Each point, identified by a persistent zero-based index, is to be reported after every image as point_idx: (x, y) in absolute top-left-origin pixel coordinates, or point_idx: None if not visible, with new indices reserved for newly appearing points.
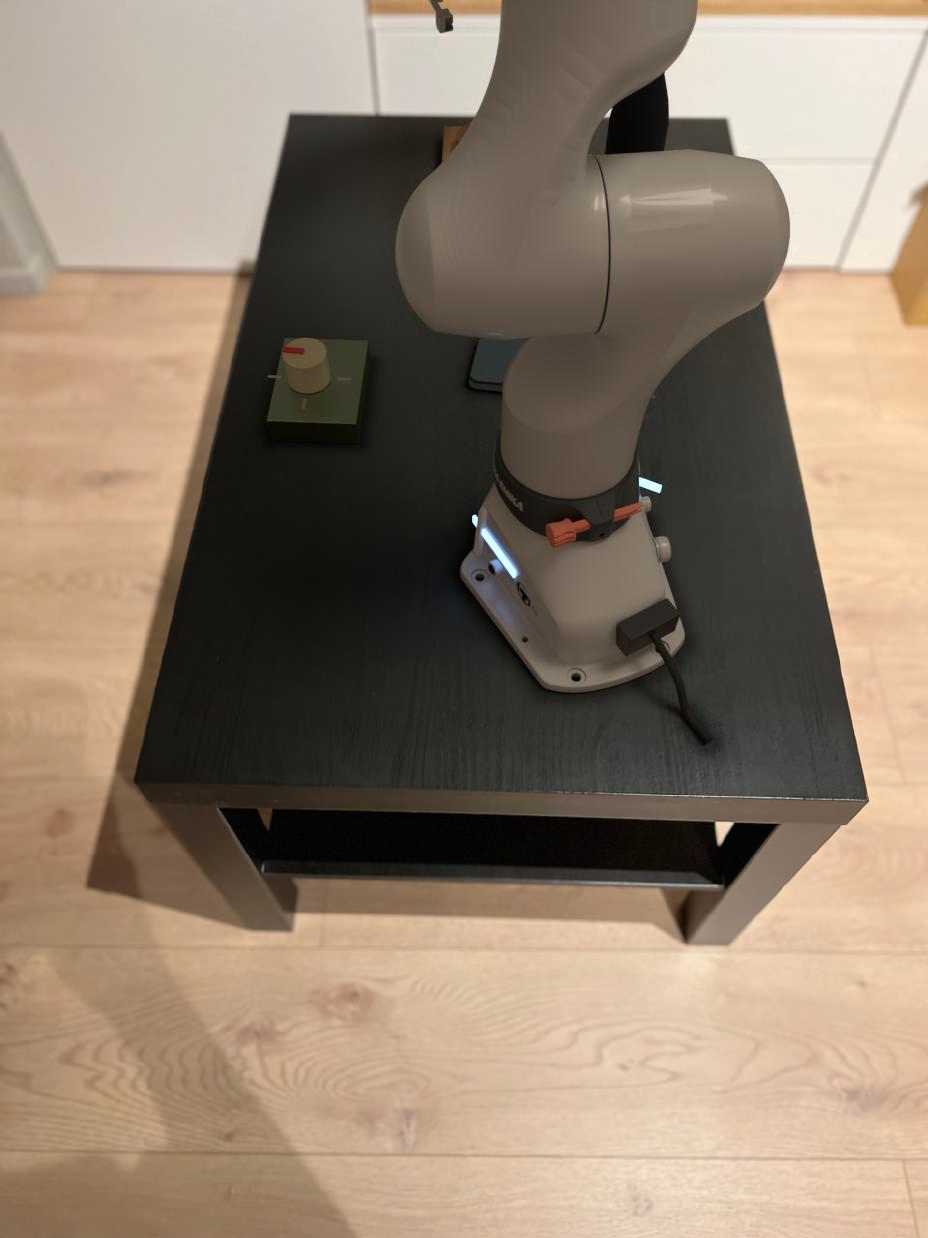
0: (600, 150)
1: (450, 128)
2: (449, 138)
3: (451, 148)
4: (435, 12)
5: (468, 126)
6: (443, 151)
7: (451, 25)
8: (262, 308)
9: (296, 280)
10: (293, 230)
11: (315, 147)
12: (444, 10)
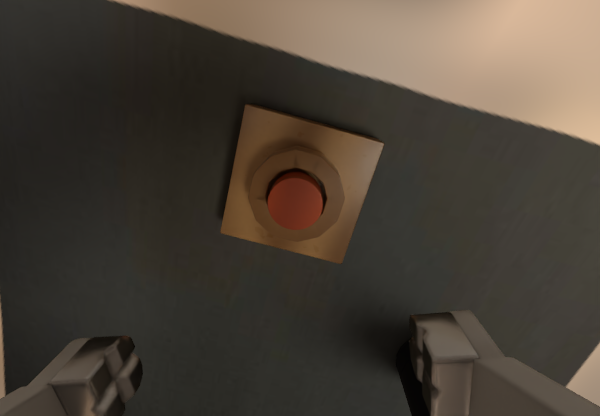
0: (495, 191)
1: (255, 115)
2: (248, 145)
3: (246, 175)
4: (35, 378)
5: (268, 201)
6: (232, 180)
7: (125, 399)
8: (10, 364)
9: (41, 336)
10: (23, 256)
11: (26, 61)
12: (71, 395)
